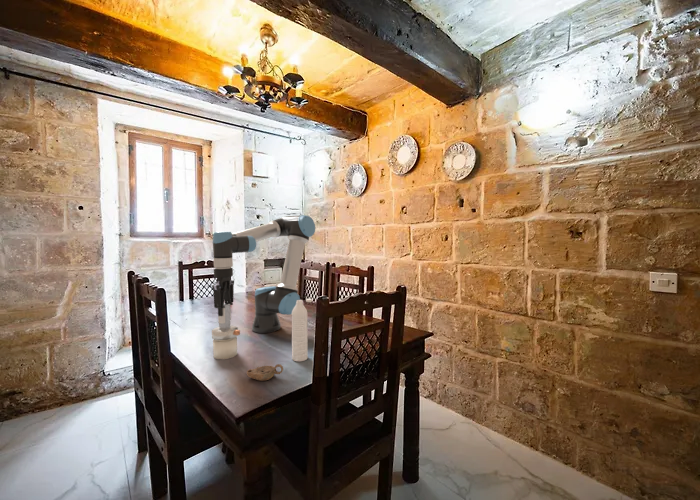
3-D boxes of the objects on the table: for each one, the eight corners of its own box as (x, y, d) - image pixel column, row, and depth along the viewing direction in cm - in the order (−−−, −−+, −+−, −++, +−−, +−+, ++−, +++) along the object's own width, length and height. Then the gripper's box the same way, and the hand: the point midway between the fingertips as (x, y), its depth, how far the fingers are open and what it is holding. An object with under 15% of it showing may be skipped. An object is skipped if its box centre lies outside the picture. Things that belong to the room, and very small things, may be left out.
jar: (238, 349, 139) (237, 332, 139) (236, 358, 130) (235, 339, 130) (215, 351, 137) (215, 334, 136) (211, 360, 128) (211, 341, 127)
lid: (206, 338, 129) (205, 306, 129) (222, 331, 139) (222, 300, 139) (231, 341, 126) (230, 308, 125) (246, 333, 136) (245, 302, 135)
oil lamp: (243, 382, 109) (243, 369, 109) (250, 373, 117) (250, 360, 116) (280, 383, 109) (280, 369, 109) (285, 373, 116) (285, 360, 116)
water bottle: (294, 363, 125) (294, 302, 124) (290, 357, 131) (289, 299, 130) (314, 359, 129) (314, 300, 128) (309, 353, 135) (309, 297, 134)
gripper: (225, 265, 140) (227, 315, 142) (203, 270, 124) (204, 327, 125) (241, 265, 139) (242, 316, 140) (220, 270, 122) (222, 327, 124)
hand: (224, 321), depth 133 cm, fingers open, 4 cm apart
